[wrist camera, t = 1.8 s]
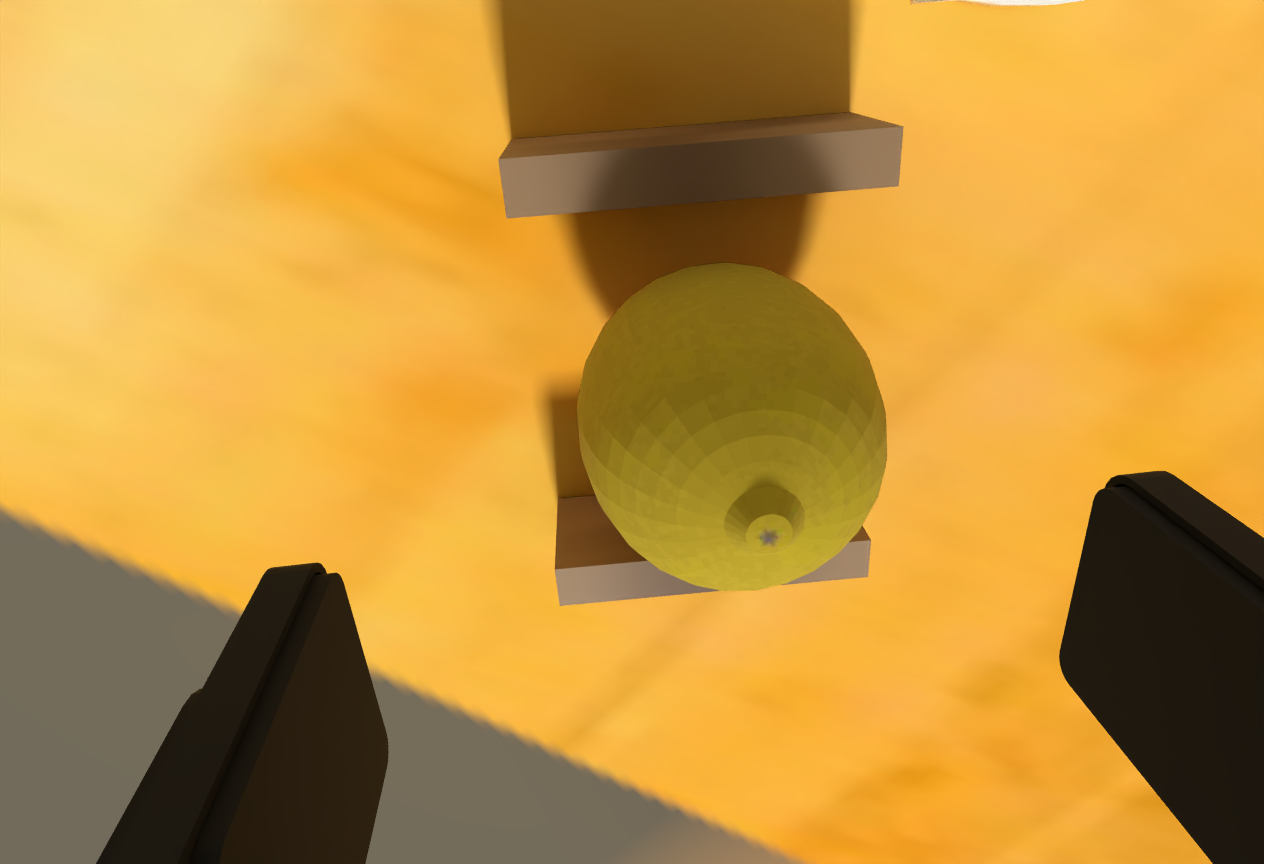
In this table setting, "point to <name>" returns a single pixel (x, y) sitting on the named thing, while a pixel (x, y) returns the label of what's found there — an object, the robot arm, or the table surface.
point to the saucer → (1003, 2)
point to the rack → (670, 175)
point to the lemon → (732, 427)
